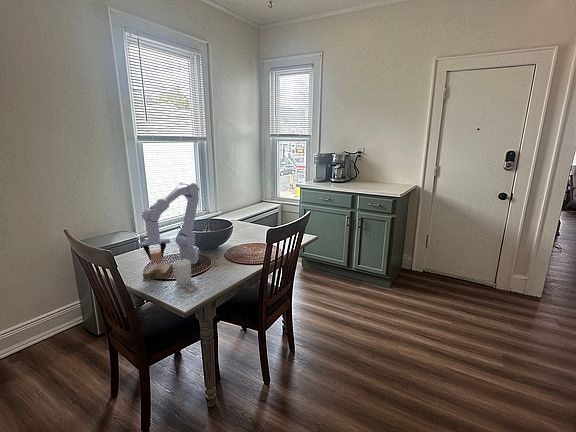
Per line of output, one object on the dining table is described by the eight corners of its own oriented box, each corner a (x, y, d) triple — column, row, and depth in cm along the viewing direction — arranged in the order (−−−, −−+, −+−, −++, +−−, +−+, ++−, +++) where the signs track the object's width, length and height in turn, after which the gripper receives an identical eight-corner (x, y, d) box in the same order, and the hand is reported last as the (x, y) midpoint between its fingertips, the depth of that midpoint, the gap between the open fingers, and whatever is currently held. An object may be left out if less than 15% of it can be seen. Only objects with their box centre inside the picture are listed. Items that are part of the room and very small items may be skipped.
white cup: (182, 287, 147) (180, 267, 145) (171, 283, 151) (169, 263, 149) (195, 280, 154) (194, 261, 151) (184, 276, 158) (182, 258, 155)
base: (172, 269, 167) (172, 263, 166) (166, 278, 156) (165, 272, 155) (151, 270, 166) (150, 264, 165) (143, 279, 155) (142, 273, 155)
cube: (161, 258, 163) (160, 249, 162) (162, 261, 159) (161, 252, 157) (150, 260, 161) (149, 251, 160) (151, 263, 156) (150, 254, 155)
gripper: (167, 228, 162) (170, 253, 166) (136, 232, 156) (140, 258, 160) (169, 232, 156) (172, 257, 160) (137, 236, 150) (140, 263, 153)
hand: (156, 258), depth 159 cm, fingers closed on cube, 5 cm apart
